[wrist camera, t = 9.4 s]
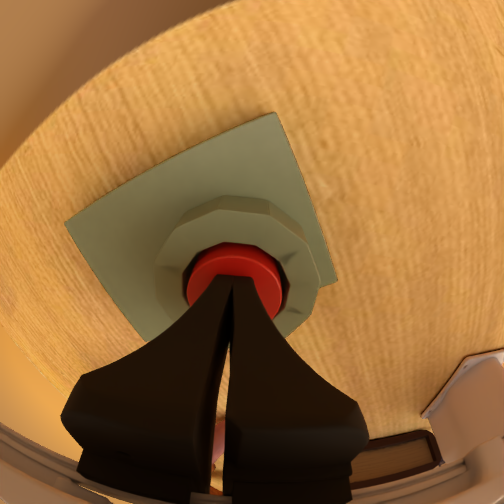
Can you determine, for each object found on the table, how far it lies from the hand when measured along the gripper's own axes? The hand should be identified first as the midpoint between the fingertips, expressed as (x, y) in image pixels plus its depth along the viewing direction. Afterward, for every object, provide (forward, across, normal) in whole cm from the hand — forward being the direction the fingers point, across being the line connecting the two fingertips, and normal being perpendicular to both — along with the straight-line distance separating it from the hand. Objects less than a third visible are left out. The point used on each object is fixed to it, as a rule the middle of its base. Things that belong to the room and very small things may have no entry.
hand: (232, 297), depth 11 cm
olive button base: (+4, +2, -1) cm, 5 cm away
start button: (+2, 0, 0) cm, 2 cm away
